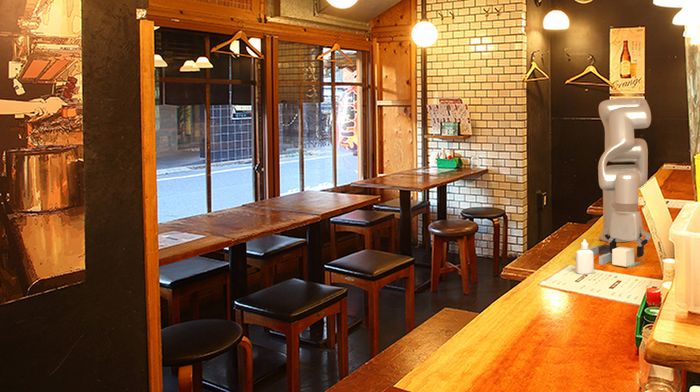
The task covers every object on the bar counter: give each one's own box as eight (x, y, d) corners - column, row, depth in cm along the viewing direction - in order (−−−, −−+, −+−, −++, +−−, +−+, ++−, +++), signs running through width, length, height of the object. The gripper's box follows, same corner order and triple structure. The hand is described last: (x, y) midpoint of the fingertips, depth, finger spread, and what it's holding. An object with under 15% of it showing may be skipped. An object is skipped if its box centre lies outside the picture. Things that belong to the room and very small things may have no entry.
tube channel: (595, 253, 231) (595, 245, 230) (621, 257, 223) (621, 249, 222) (575, 260, 222) (575, 252, 222) (602, 265, 214) (602, 256, 214)
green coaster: (621, 260, 218) (621, 259, 218) (640, 263, 213) (640, 262, 213) (611, 264, 214) (611, 263, 214) (631, 267, 208) (631, 266, 208)
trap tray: (604, 250, 234) (604, 244, 234) (629, 254, 226) (629, 247, 226) (597, 252, 231) (597, 246, 231) (622, 256, 223) (622, 250, 223)
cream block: (620, 261, 216) (620, 246, 215) (634, 263, 212) (634, 248, 211) (612, 264, 212) (612, 249, 211) (625, 266, 208) (626, 251, 207)
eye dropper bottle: (577, 270, 209) (577, 237, 207) (594, 272, 206) (594, 238, 204) (574, 273, 205) (574, 240, 204) (592, 275, 202) (592, 241, 201)
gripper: (597, 207, 215) (598, 253, 217) (646, 211, 201) (645, 260, 204) (608, 204, 220) (608, 249, 222) (656, 208, 206) (655, 256, 208)
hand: (626, 254), depth 213 cm, fingers open, 9 cm apart
